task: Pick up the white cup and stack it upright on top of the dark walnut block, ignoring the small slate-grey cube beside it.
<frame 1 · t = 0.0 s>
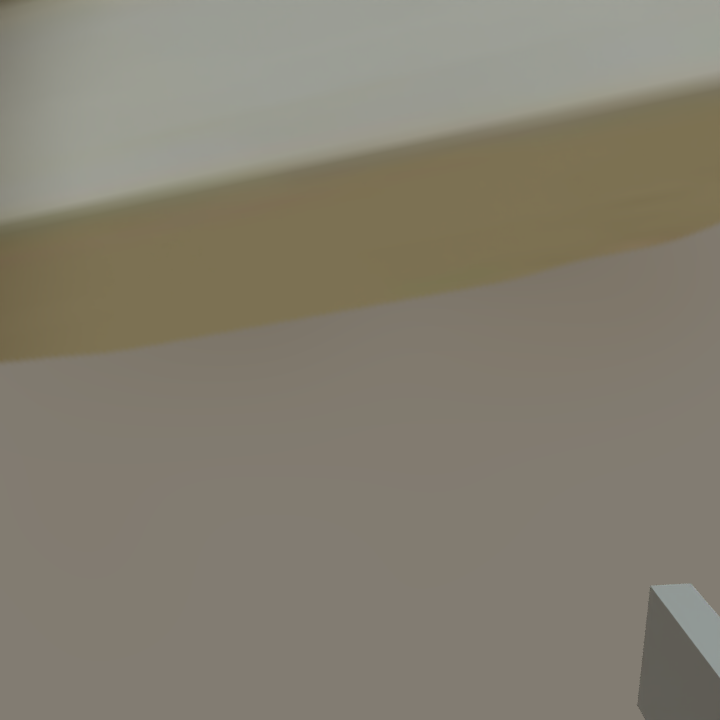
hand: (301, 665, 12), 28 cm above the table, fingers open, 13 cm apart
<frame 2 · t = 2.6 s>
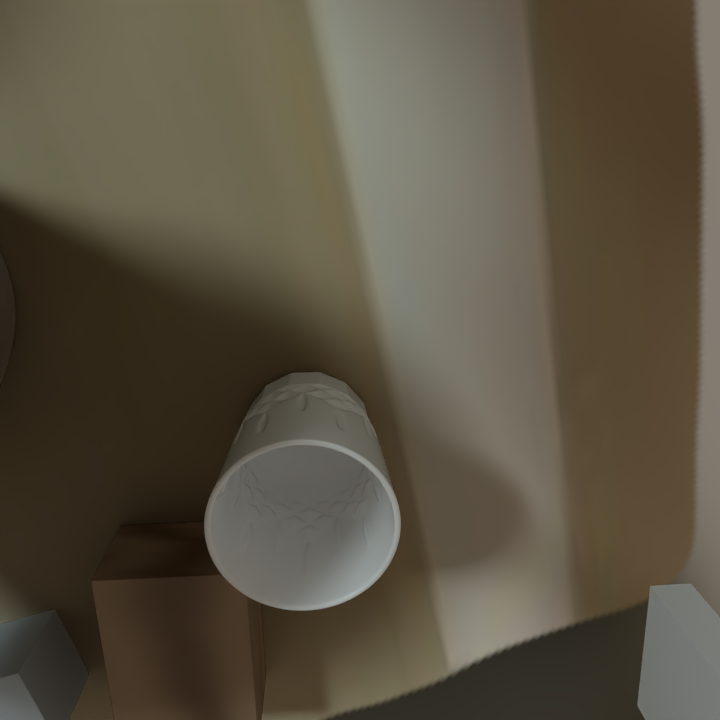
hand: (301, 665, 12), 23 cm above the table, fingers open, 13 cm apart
grey cube: (33, 652, 39), on the table
walnut block: (196, 603, 39), on the table
white cup: (308, 426, 36), on the table
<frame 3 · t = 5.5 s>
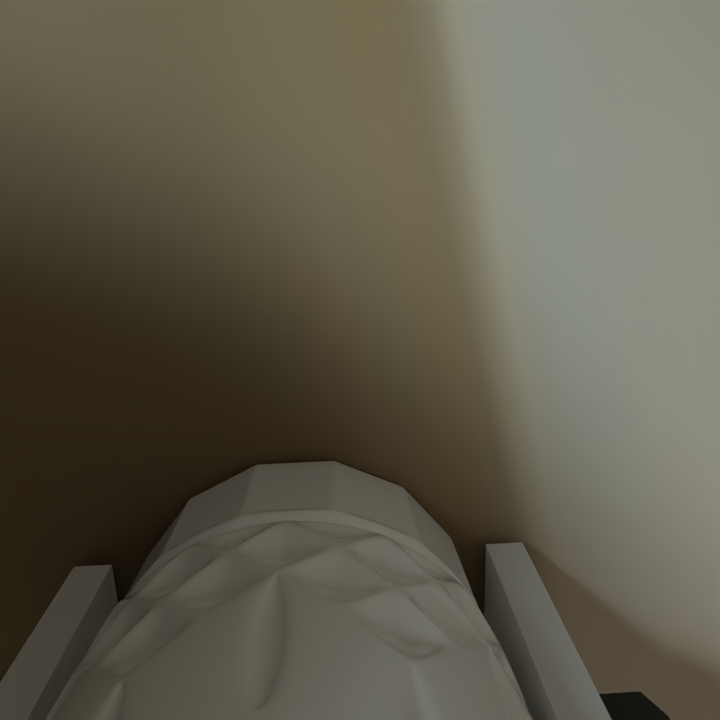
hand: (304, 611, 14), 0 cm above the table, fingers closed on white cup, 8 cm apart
white cup: (305, 594, 14), on the table, touching gripper
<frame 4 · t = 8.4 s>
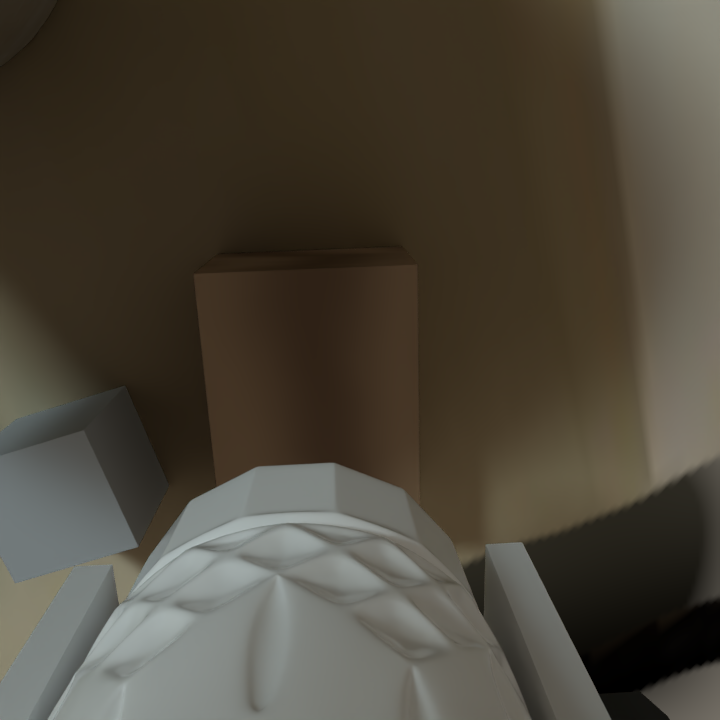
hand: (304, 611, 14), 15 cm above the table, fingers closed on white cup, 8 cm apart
grey cube: (95, 452, 29), on the table
walnut block: (317, 378, 28), on the table
white cup: (306, 596, 14), point 15 cm above the table, touching gripper
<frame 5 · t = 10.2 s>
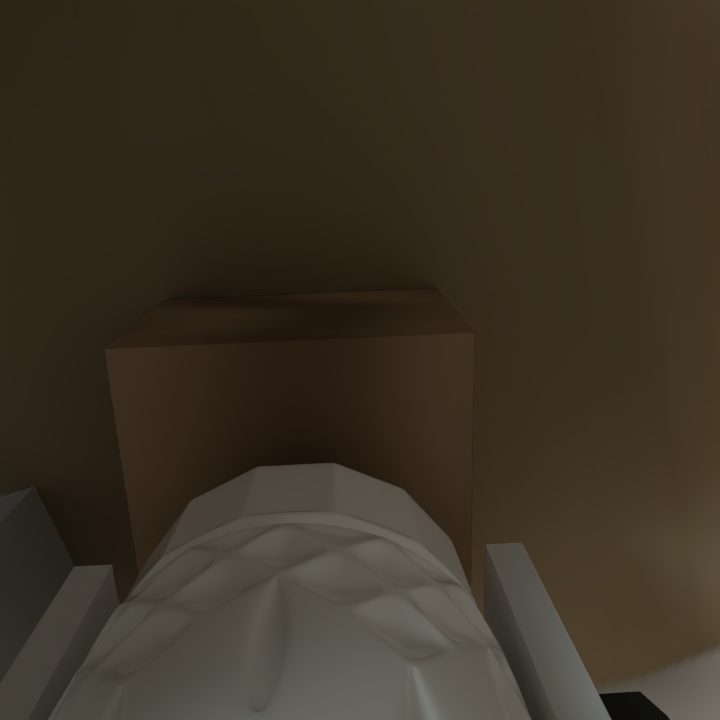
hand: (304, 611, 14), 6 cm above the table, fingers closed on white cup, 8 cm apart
walnut block: (312, 474, 20), on the table
white cup: (306, 596, 14), point 6 cm above the table, touching gripper
when the fingers open (6 cm above the table, at t = 11.6 s): white cup stays where it is, resting on walnut block.
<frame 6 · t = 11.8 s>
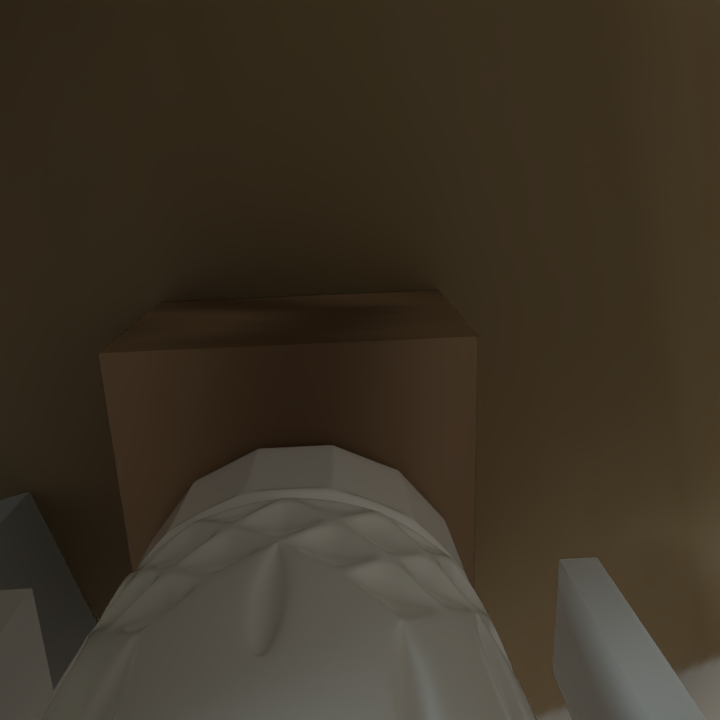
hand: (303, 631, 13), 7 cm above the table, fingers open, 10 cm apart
walnut block: (312, 479, 19), on the table
white cup: (305, 574, 15), point 5 cm above the table, touching walnut block
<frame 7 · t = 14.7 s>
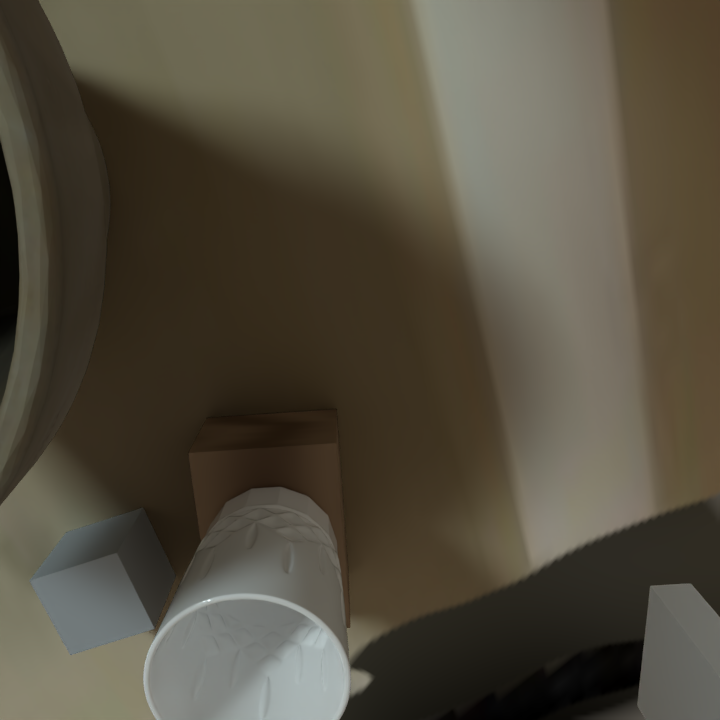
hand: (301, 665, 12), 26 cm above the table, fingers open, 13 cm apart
grey cube: (122, 553, 40), on the table
walnut block: (280, 499, 39), on the table
white cup: (272, 540, 35), point 5 cm above the table, touching walnut block
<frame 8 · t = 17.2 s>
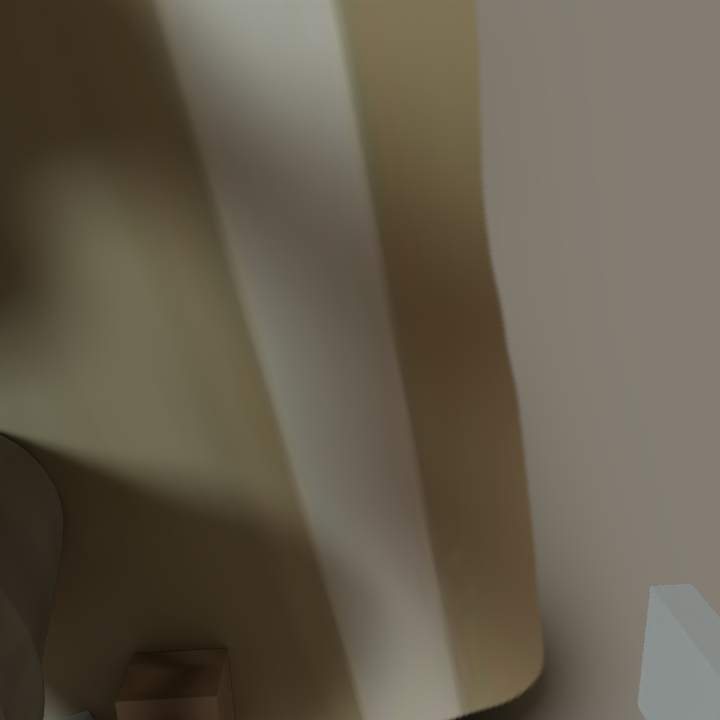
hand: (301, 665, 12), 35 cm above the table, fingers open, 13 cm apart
walnut block: (188, 705, 55), on the table
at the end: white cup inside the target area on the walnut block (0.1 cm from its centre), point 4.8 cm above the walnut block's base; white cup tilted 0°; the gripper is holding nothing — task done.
